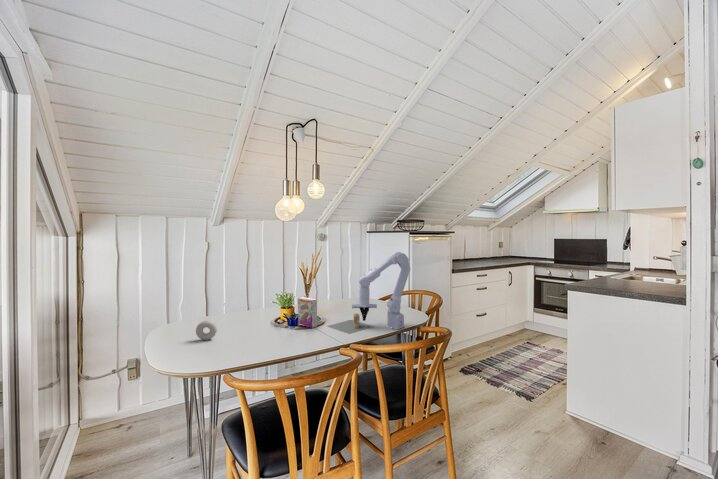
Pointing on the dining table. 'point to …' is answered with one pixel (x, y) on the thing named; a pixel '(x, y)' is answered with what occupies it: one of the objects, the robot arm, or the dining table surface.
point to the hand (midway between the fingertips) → (364, 320)
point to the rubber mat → (349, 327)
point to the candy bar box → (307, 312)
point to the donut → (206, 335)
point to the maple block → (356, 321)
